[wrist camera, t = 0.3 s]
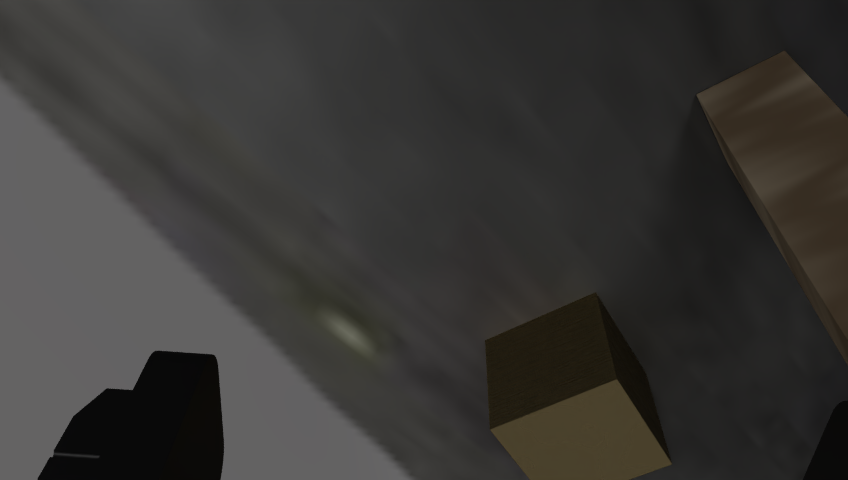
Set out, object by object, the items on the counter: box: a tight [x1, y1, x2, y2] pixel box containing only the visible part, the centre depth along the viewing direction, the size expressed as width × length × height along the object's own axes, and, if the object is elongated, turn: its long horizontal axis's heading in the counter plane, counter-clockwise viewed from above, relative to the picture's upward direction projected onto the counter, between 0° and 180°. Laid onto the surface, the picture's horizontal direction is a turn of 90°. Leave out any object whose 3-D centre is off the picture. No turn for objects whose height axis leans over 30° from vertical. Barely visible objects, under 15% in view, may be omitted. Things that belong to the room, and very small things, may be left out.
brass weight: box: [485, 292, 672, 480], centre depth 32 cm, size 5×5×5 cm
